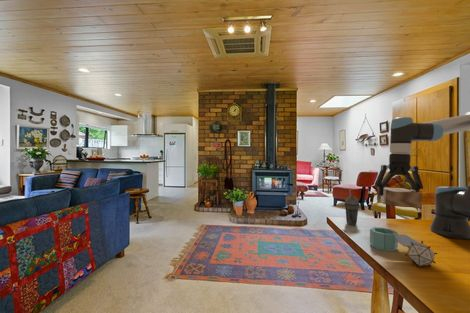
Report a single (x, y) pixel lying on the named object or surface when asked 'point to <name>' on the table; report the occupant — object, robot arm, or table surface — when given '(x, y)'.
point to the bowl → (384, 239)
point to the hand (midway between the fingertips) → (397, 204)
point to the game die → (421, 254)
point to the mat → (406, 240)
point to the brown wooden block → (401, 197)
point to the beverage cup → (351, 209)
